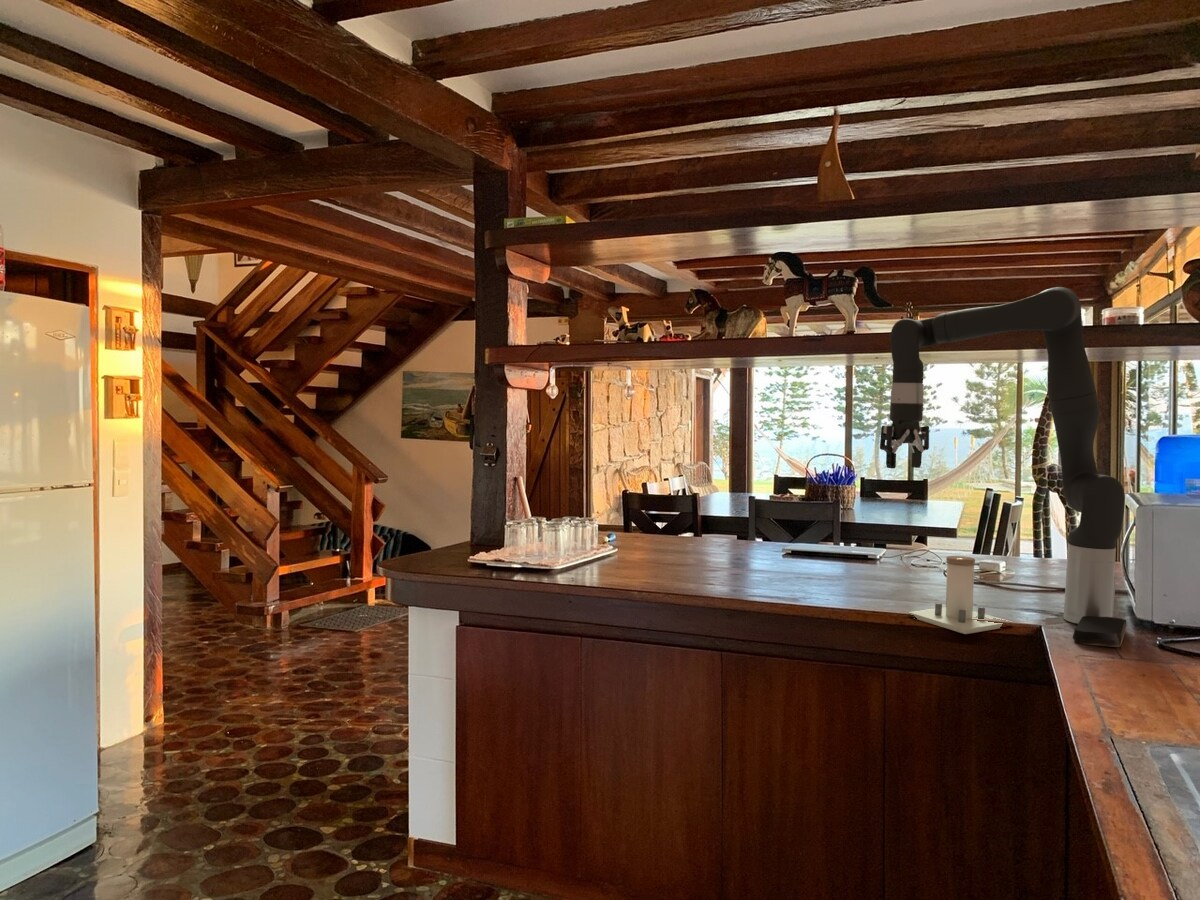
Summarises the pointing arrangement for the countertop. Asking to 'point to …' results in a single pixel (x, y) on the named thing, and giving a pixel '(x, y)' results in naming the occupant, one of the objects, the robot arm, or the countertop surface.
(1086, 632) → the black sponge
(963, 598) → the canister
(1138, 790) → the countertop surface
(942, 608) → the plate
